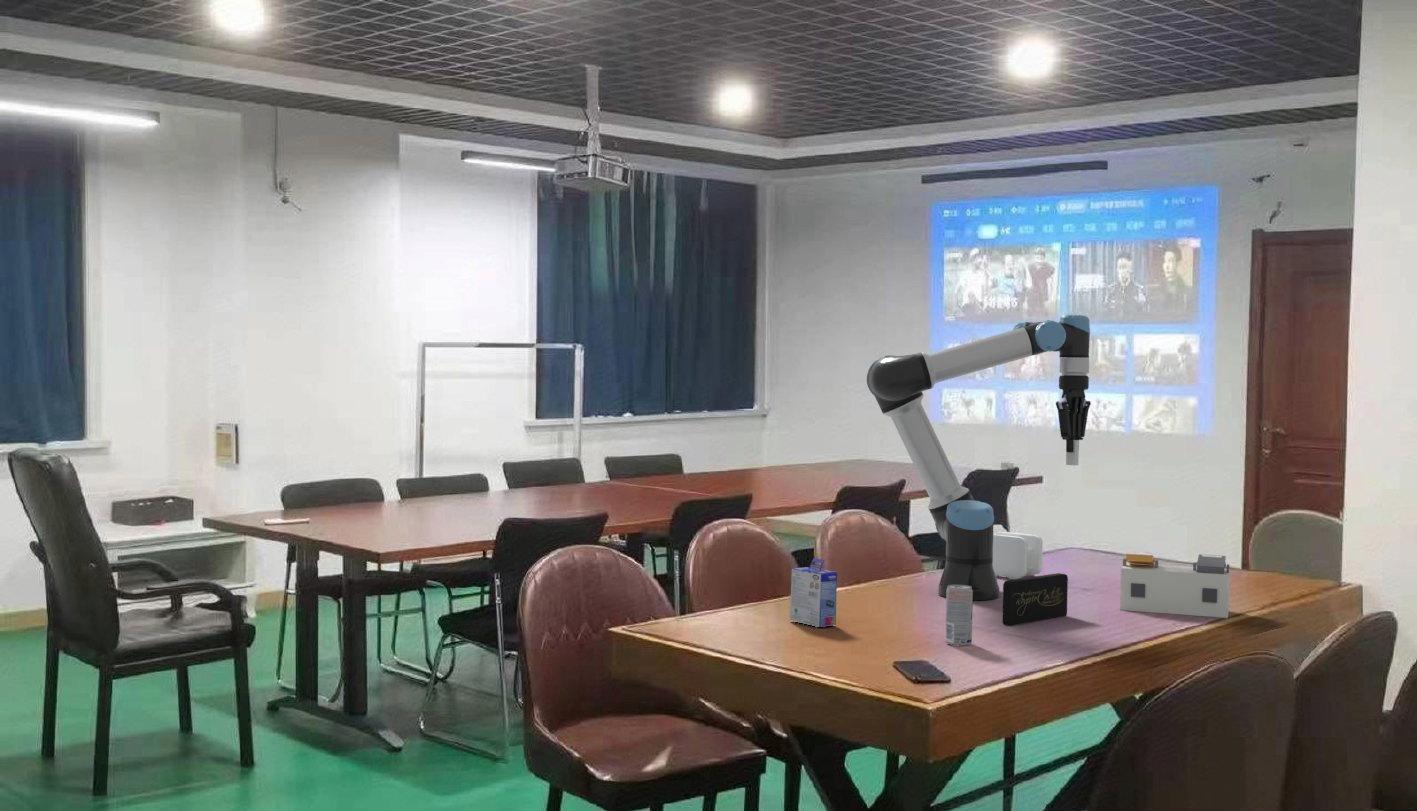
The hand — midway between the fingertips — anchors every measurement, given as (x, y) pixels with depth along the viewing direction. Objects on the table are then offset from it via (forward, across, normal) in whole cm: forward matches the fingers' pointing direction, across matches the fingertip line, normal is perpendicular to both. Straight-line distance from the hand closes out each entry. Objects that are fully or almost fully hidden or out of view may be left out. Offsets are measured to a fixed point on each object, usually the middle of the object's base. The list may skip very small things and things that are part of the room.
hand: (1072, 464), depth 354 cm
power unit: (+32, +8, +34) cm, 48 cm away
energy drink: (+33, +80, +25) cm, 90 cm away
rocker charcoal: (+21, +5, +41) cm, 46 cm away
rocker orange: (+21, +11, +27) cm, 36 cm away
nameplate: (+33, +45, +20) cm, 59 cm away
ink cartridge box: (+33, +88, -9) cm, 94 cm away
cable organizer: (+33, -6, -23) cm, 40 cm away
